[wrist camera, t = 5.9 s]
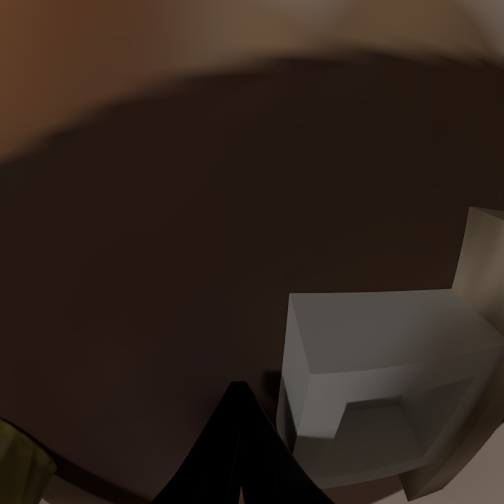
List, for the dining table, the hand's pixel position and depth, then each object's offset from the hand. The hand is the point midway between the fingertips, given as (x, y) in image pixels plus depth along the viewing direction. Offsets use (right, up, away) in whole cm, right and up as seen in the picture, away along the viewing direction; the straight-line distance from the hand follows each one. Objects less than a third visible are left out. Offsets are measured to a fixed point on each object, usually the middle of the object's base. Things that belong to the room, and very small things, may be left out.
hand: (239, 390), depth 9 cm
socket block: (+4, 0, +1) cm, 5 cm away
